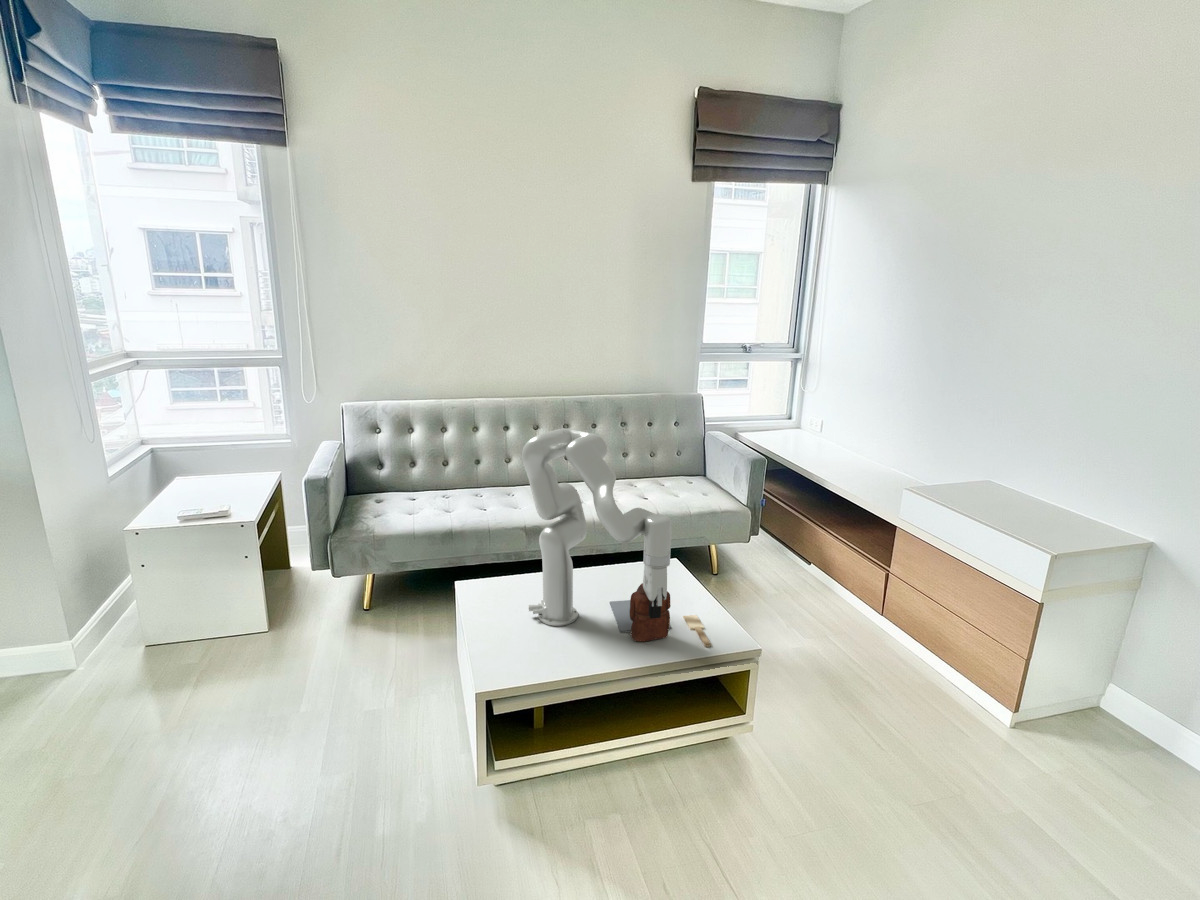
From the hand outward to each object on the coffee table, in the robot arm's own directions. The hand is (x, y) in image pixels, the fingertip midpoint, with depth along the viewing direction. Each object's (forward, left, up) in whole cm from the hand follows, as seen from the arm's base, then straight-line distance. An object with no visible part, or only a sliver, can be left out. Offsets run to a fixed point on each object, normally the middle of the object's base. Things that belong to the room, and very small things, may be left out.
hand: (654, 616), depth 179 cm
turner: (+16, +8, -10) cm, 21 cm away
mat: (0, +19, -10) cm, 22 cm away
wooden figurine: (0, +6, -10) cm, 12 cm away
